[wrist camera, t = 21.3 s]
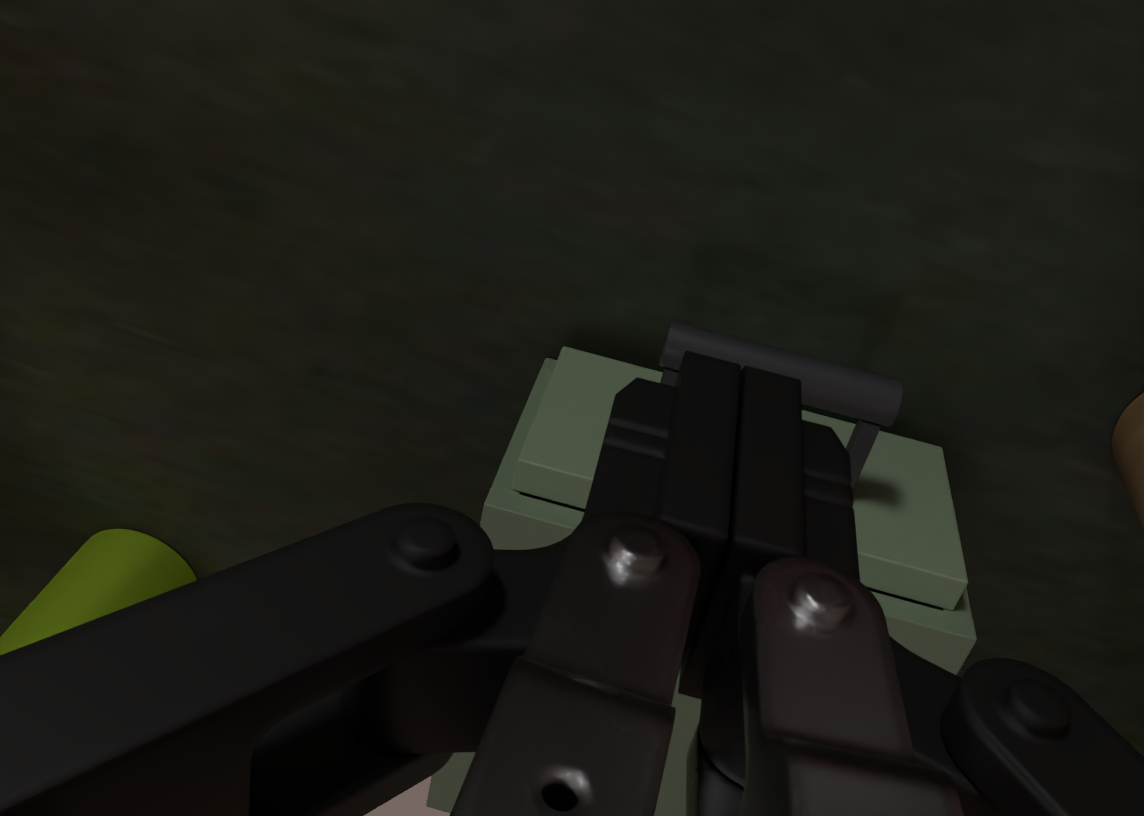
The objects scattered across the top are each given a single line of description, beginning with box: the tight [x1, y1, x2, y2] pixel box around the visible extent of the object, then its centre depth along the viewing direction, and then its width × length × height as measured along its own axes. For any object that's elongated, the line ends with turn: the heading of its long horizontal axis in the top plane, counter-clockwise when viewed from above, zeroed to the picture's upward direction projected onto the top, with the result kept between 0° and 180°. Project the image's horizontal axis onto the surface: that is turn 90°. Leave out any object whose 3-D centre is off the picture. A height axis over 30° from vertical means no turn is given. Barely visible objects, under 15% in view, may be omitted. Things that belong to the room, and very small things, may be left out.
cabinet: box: [426, 358, 977, 816], centre depth 39 cm, size 15×15×9 cm
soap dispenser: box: [0, 529, 197, 655], centre depth 40 cm, size 6×7×20 cm
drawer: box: [512, 320, 968, 610], centre depth 36 cm, size 18×14×7 cm
